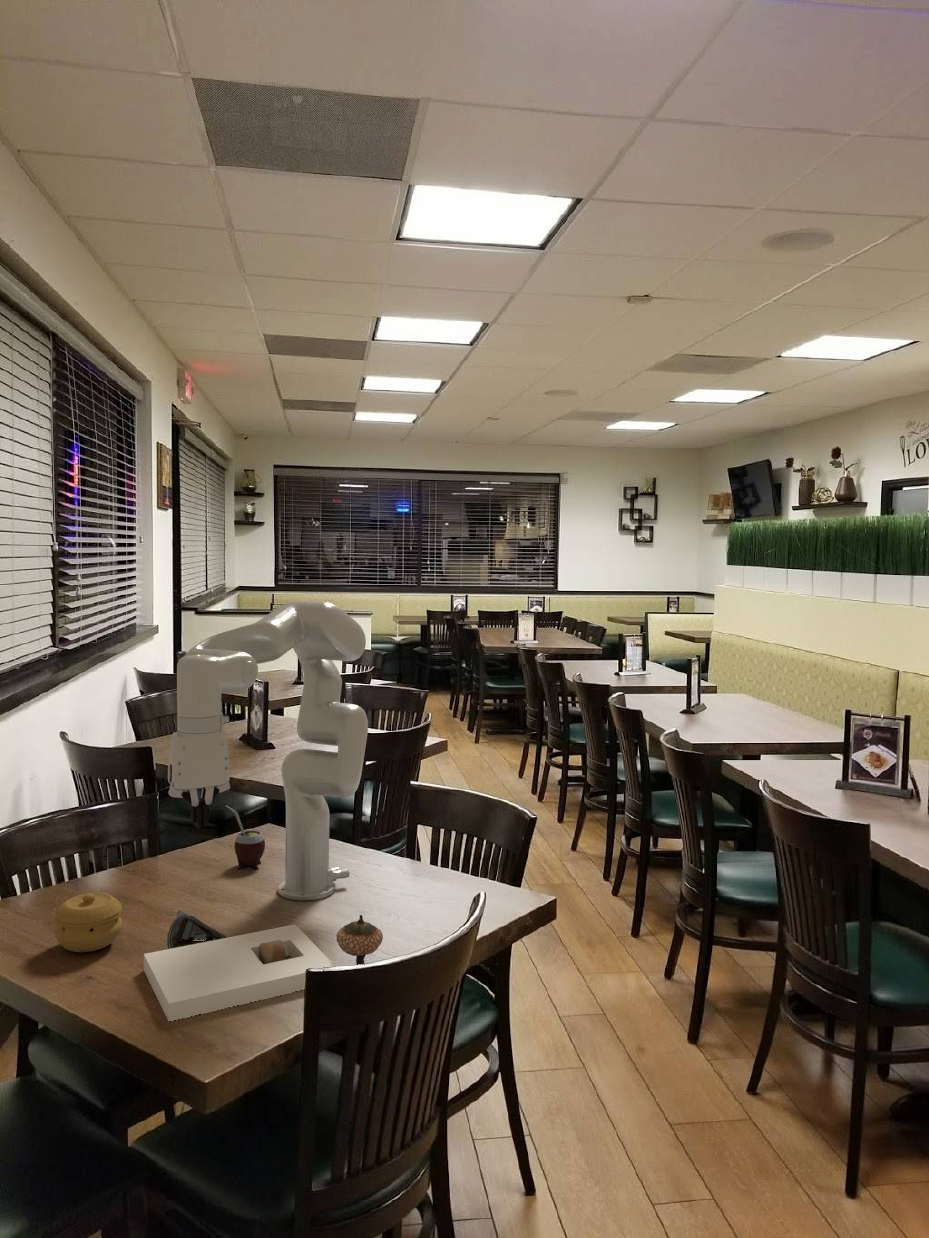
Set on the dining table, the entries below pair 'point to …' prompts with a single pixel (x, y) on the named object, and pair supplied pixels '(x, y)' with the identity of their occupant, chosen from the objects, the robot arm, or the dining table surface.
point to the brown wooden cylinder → (272, 952)
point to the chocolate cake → (189, 931)
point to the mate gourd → (248, 846)
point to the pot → (88, 922)
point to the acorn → (359, 939)
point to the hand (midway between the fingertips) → (199, 825)
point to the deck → (229, 972)
